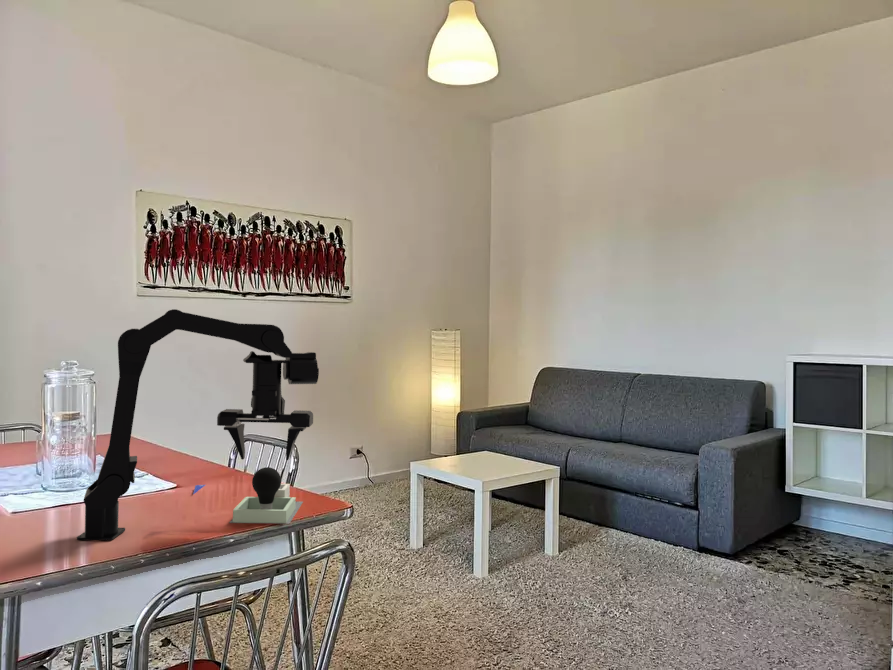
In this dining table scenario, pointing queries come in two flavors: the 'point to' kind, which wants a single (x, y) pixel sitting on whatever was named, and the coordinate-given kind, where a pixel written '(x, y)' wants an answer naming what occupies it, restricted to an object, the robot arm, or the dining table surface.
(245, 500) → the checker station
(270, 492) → the light bulb
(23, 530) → the dining table surface
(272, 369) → the robot arm
